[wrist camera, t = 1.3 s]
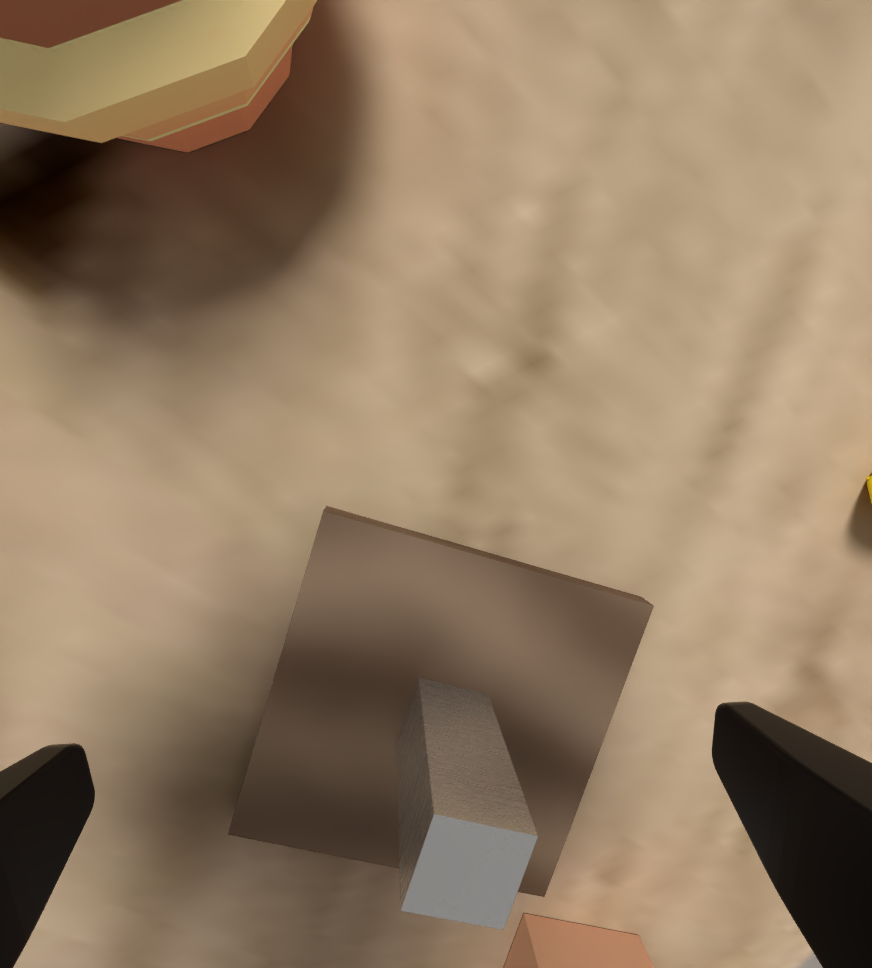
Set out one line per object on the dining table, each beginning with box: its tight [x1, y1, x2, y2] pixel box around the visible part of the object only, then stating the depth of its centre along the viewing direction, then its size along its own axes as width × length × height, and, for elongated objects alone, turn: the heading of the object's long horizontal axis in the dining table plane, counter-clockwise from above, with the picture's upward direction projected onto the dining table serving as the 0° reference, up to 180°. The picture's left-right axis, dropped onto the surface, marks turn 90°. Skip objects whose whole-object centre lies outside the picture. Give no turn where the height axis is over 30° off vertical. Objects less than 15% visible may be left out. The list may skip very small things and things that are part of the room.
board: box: [228, 506, 654, 897], centre depth 21 cm, size 14×14×1 cm
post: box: [397, 678, 538, 930], centre depth 17 cm, size 3×3×7 cm
